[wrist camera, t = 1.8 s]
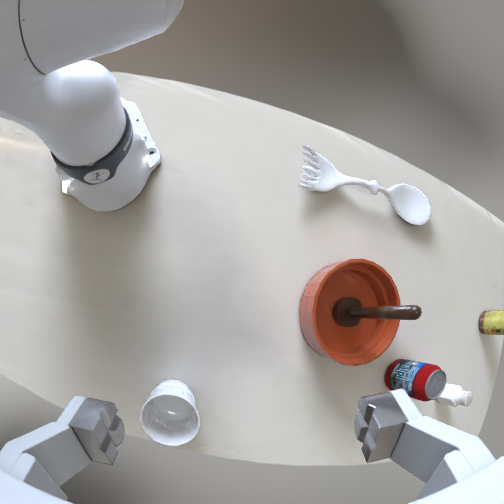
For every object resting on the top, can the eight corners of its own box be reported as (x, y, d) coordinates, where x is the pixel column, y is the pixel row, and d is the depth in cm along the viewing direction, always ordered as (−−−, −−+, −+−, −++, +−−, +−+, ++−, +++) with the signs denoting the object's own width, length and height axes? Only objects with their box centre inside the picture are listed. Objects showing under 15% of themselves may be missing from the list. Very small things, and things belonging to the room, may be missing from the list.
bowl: (284, 281, 49) (297, 278, 43) (365, 252, 53) (384, 246, 47) (314, 375, 47) (329, 383, 41) (389, 336, 51) (409, 338, 45)
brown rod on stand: (328, 303, 49) (399, 300, 30) (352, 293, 50) (427, 284, 32) (337, 331, 48) (409, 341, 30) (360, 320, 49) (436, 323, 31)
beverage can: (393, 353, 51) (435, 360, 39) (412, 365, 51) (453, 373, 40) (377, 383, 49) (417, 397, 37) (397, 394, 49) (437, 407, 38)
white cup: (156, 368, 42) (148, 385, 32) (204, 385, 43) (208, 405, 33) (143, 410, 40) (133, 434, 30) (189, 425, 41) (190, 453, 31)
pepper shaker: (447, 389, 52) (475, 395, 43) (438, 403, 51) (466, 411, 42) (441, 381, 52) (470, 387, 43) (432, 395, 51) (461, 402, 42)
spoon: (297, 150, 53) (303, 141, 50) (423, 194, 59) (432, 190, 56) (292, 192, 52) (299, 185, 48) (424, 231, 57) (435, 228, 54)
